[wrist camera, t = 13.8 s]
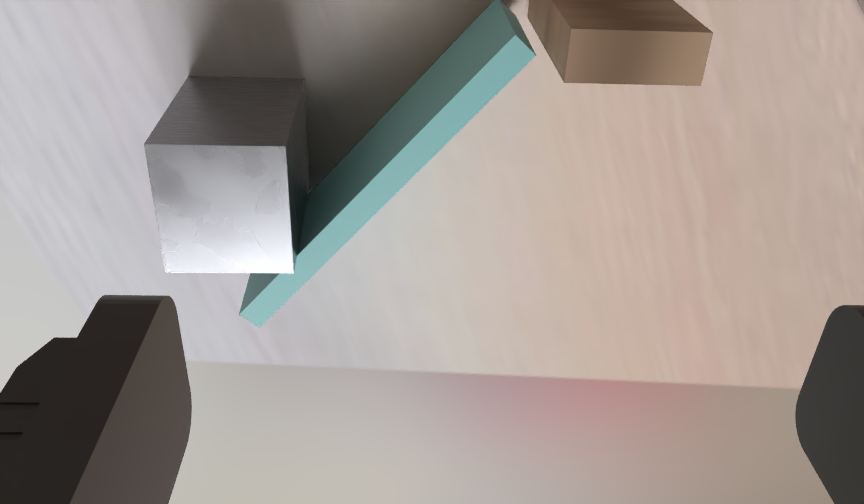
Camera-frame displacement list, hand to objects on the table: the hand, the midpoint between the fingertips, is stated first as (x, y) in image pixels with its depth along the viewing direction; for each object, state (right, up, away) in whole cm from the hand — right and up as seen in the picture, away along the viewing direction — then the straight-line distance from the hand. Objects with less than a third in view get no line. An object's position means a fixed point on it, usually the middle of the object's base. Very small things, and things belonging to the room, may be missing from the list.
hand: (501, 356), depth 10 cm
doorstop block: (-10, +7, +29) cm, 32 cm away
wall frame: (+6, +13, +27) cm, 30 cm away
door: (-4, +7, +29) cm, 30 cm away
